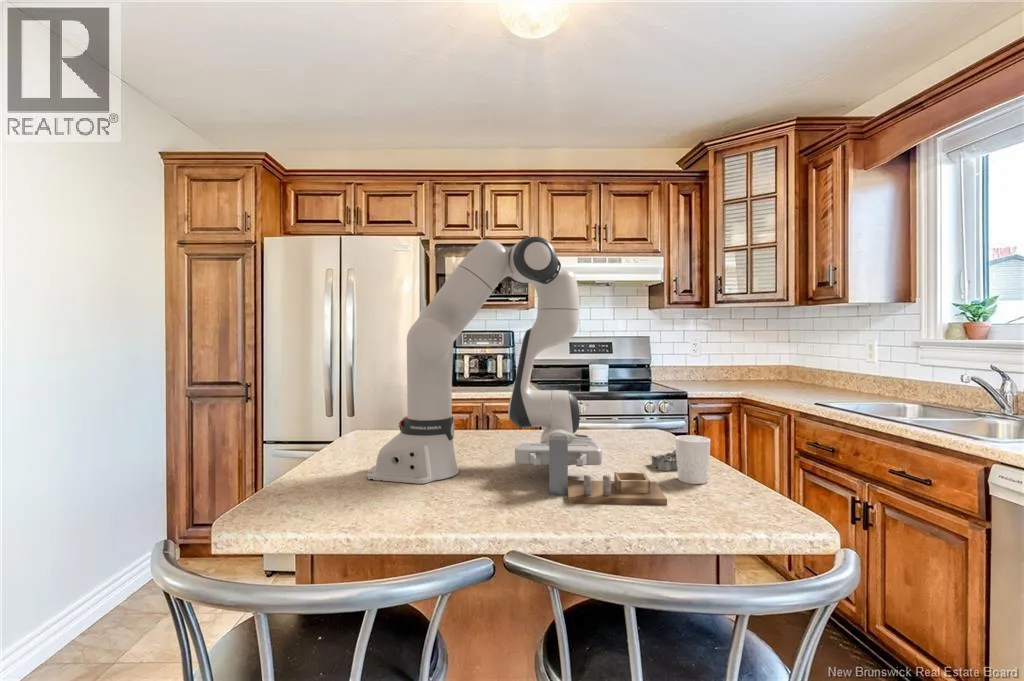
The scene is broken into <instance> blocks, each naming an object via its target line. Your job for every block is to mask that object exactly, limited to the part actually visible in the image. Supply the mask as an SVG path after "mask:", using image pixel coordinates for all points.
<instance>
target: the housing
mask: <svg viewBox="0 0 1024 681" xmlns="http://www.w3.org/2000/svg"><path fill="white" fill-rule="evenodd" d="M613 473H614V480H612V477H611V475H607V474H605V475H602V480H592V475H590V474H584V475H583V480H580V479H579V480H575V479H574V480H573V479H572V480H571V479H568V495H567V498H568V504H570V503H571V504H576V503H577V504H605V503H614V505H615V504H616V503H617V504H619V505H653V504H659V505H660V504H661V505H662V506H665V505H666V506H667V505H668V498H667V497H666V496H665V493H663V491H662V489H661V488H660V487H659V485H658V484H657V483H656V481H651V480H650V478H649V477H648V475H647V474H646V473H645V472H639V471H638V472H635V471H633V472H632V471H631V472H627V471H626V472H625V471H622V472H621V471H620V472H619V471H614V472H613ZM617 504H616V505H617ZM661 505H660V506H661Z"/></svg>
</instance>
